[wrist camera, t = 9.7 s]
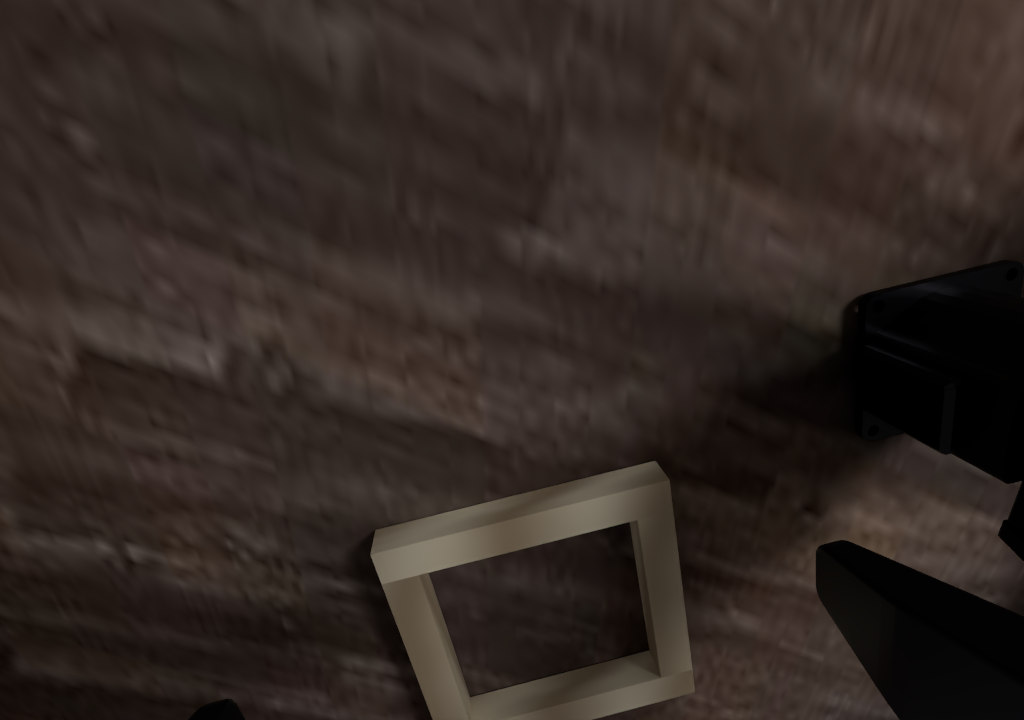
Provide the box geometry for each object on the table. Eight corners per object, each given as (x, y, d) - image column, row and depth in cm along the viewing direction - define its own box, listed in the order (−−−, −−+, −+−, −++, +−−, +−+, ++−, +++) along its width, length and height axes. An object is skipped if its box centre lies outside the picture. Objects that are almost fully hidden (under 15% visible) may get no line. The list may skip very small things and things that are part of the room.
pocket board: (655, 460, 22) (669, 479, 20) (681, 664, 26) (694, 692, 24) (375, 529, 21) (370, 554, 20) (447, 726, 25) (447, 758, 24)
